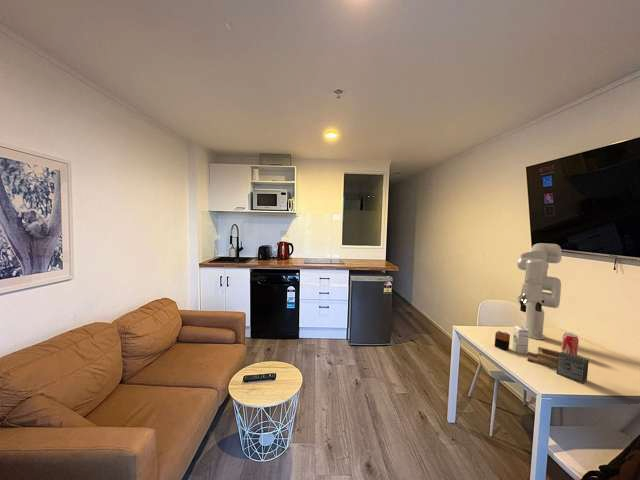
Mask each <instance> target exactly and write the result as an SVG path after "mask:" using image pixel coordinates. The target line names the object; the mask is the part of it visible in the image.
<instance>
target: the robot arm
mask: <svg viewBox="0 0 640 480" xmlns="http://www.w3.org/2000/svg"><path fill="white" fill-rule="evenodd" d="M560 262H562V248H561V246H560V245H559V244H556V243H546V242H545V243H543V242H541V243H540V242H538V243H535V244H533V245H532V247H531V249H529V250H528V252H523V253H521V254H520V255H519V257H518V260H517V262H516V263H517V268H518V270H521V271H525V273H524V274H525V275H524V283H523V284H522V286H521V290H520V295H518V296H517V297H516V298H517V300H518V302H519V304H520V307H519V310H520V311H521V312H523V313H526V316H525V317H526V318H525V326H524V327H525V328H526V329H528V330H529V338H528V339H534V340H540V341H541V340H542V341H543V340H546V336H545V335H544V324H545V323H544V322H545V311H544V309H543V308H542V307H546V308H552V309H556V308H559V306H560V304H561V292H562V291H561V290H562V282H561V279H560V278H558V277H555V276H554V277H553V276H549V275H548V269H549V265H550V264H559V263H560ZM546 291H548V292H546Z"/></svg>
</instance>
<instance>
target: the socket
mask: <svg viewBox="0 0 640 480" xmlns="http://www.w3.org/2000/svg"><path fill="white" fill-rule="evenodd" d="M561 352H562V351H559V350H558V351H557V350H553V349H549V348H547V347H546V348H545V347H541V346H538V348H537V353H535V352H530V351H528V353H527V362H531V363H534V364H537V363H538V364H539V365H541V366H545V367H549V368H553V369H556V370H557V363H558V354H559V353H561ZM538 364H537V365H538Z"/></svg>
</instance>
